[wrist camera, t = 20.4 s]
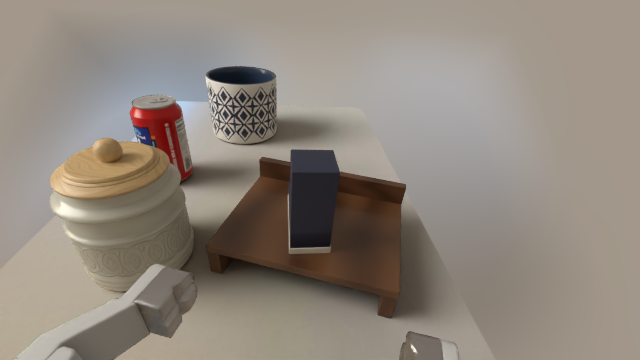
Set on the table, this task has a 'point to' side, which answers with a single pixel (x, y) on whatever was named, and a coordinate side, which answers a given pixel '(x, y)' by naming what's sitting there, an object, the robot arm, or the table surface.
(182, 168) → the soda can
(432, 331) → the table surface
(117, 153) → the jar
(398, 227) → the wooden display stand
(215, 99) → the planter
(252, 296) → the table surface
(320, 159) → the navy stepped block
